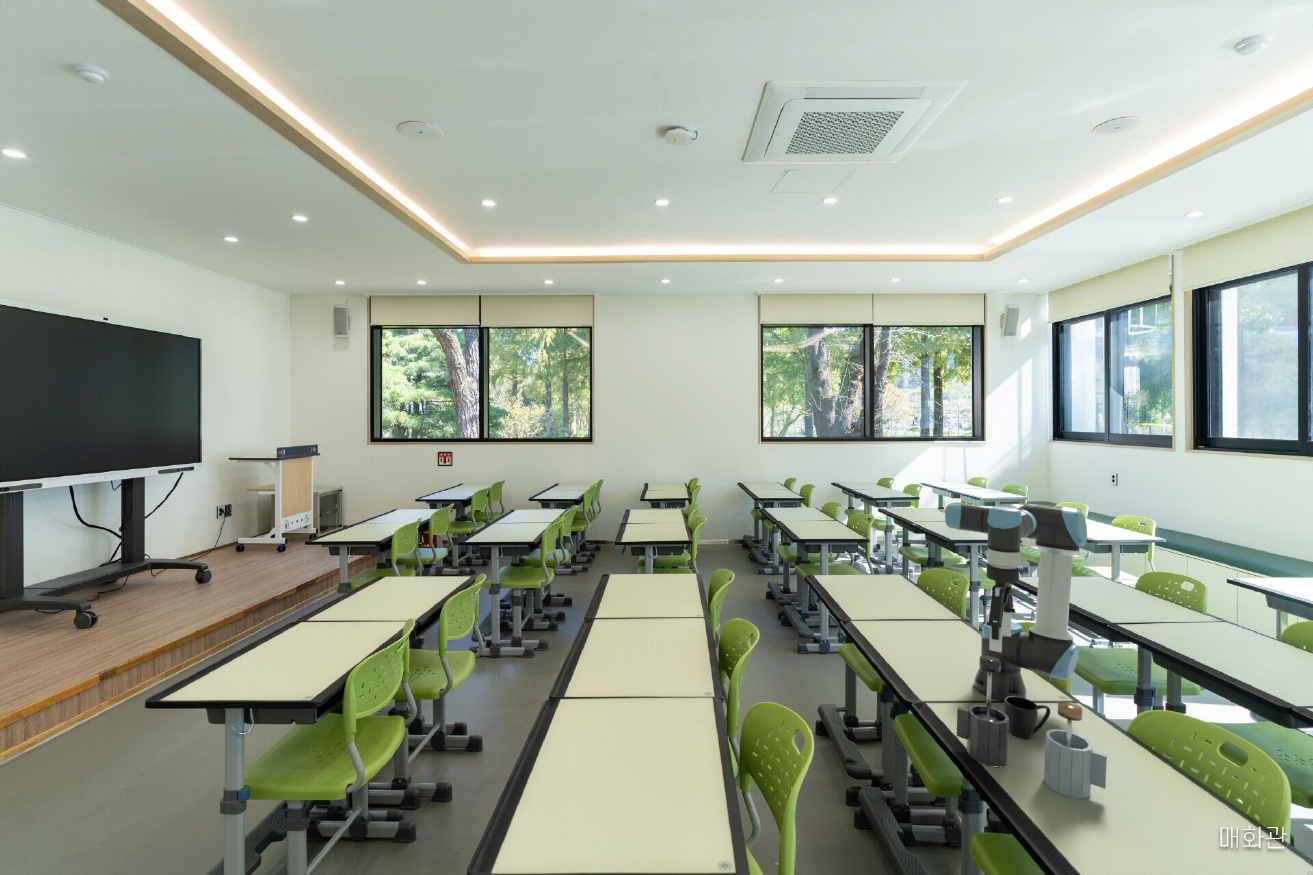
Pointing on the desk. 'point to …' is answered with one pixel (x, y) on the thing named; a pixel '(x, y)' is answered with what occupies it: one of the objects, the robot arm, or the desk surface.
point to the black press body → (984, 735)
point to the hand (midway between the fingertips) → (1000, 642)
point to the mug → (1023, 716)
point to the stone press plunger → (1069, 716)
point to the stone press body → (1073, 765)
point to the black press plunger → (989, 683)
